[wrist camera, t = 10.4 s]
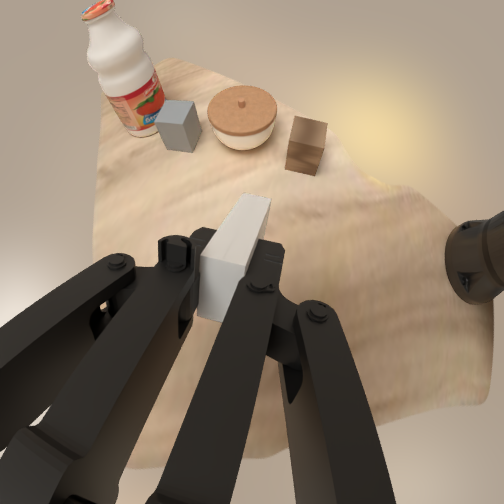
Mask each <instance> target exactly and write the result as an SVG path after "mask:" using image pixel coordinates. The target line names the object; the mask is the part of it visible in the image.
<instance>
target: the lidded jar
mask: <svg viewBox="0 0 504 504" xmlns="http://www.w3.org/2000/svg"><path fill="white" fill-rule="evenodd" d="M207 112H208V118H209V121H210V123H211V126H212V129H213V131H214V133H215V135H216V136H217V138H218V139H219V140H220V141H221V142H222V143H223V144H224V145H226V146H228V147H230V148H233V149H236V150H249V149H253V148H256V147H258V146H259V145H261V144H263V143H264V142H265V141H266V140H267V139H268V138H269V136H270V135H271V133H272V130H273V128H274V124H275V118H276V114H277V105H276V102H275V100H274V98H273V97H272V96H271V95H270V94H269V93H267V92H266V91H264V90H262V89H260V88H257V87H253V86H235V87H230V88H228V89H225V90H223V91H221V92H220V93H218V94H217V95H216V96H214V98H213V99H212V100H211V102H210V103H209V106H208V110H207Z"/></svg>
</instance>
